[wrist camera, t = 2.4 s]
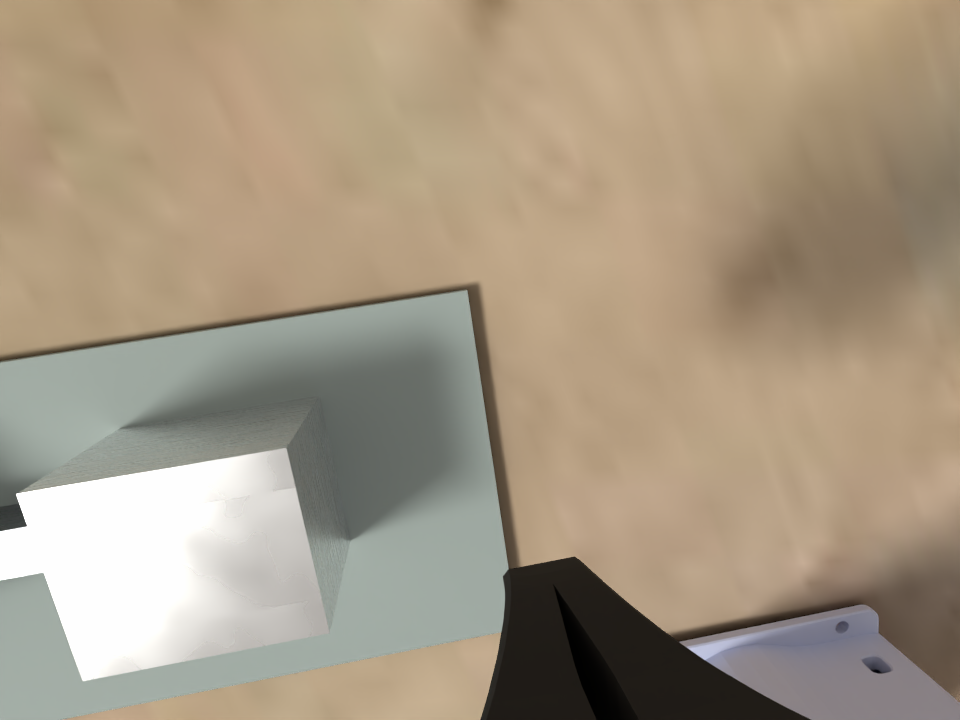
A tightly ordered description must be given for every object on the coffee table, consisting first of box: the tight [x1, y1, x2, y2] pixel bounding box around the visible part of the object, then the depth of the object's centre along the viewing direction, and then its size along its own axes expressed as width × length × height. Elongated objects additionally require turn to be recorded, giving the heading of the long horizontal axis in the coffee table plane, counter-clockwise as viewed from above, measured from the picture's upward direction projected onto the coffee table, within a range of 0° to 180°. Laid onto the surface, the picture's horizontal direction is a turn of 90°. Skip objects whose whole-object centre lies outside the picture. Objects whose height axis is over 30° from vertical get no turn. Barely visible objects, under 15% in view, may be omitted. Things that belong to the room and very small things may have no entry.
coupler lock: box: [17, 396, 351, 681], centre depth 16 cm, size 6×5×4 cm
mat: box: [0, 289, 509, 720], centre depth 18 cm, size 22×12×1 cm, turn 98°
